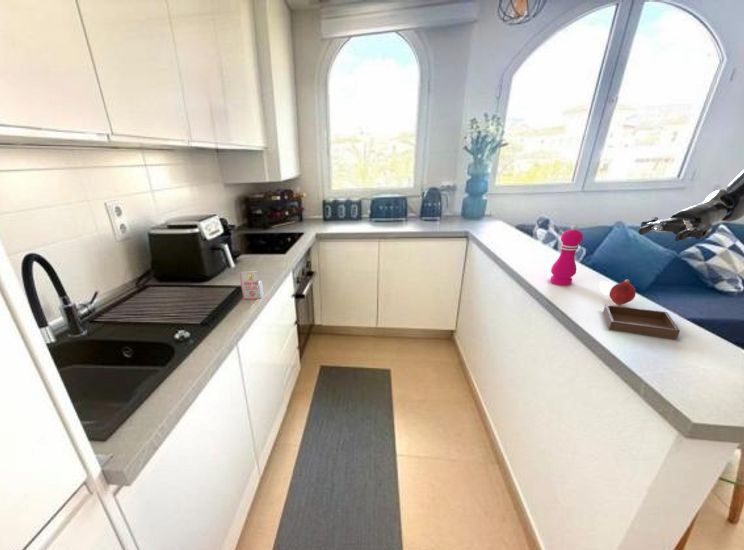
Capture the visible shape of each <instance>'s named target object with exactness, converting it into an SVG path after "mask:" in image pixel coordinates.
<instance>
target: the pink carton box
mask: <svg viewBox="0 0 744 550" xmlns="http://www.w3.org/2000/svg"><path fill="white" fill-rule="evenodd" d="M239 274H240V275H239V277H240V287H241V288H240V289H241V293H242V299H243V300H262V299H263V297H264V296H265V294H264V288H263V281H262V280H263V279H262V278H261V277H262V276H261V275H260V271H258V270H256V271H255V270H253V271H240V272H239Z"/></svg>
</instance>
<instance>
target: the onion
mask: <svg viewBox="0 0 744 550" xmlns="http://www.w3.org/2000/svg"><path fill="white" fill-rule="evenodd" d="M636 292H637V291H636V288H635V286H634V285H632V284H631V283H630V279H624V280H623V281H622V282H619V283H617V284H615V285H613V286H612V287H611V289H610V291H609V298H610V299H611V301H612V302H613V303H614V304H615V305H616V306H621V305H625V304H627V303H630V302H632V301H633V300H634V299H635V298H636Z"/></svg>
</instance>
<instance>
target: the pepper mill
mask: <svg viewBox="0 0 744 550" xmlns="http://www.w3.org/2000/svg"><path fill="white" fill-rule="evenodd" d="M583 239H584V234H583V232H582V231H580V230H579V228H578V225H577V224H573V225H571V226H570V229H567V230H565V231H563V233H562V234H561V236H560V241H561V244H560V253H559V257H558V258H557V259H556V260H555V262H554V263H553V264H552V266H551V268H550V273H551V274H552V275H551V276H550V279H549V282H550V283H551V284H554V285H557V286H570V285H571V284H572V282H573V277H574V276H575V275H576V274H577V264H576V260H575V256H576V252H577V251H578V250H579V247H580V245H579V244H580V243H582V242H583Z"/></svg>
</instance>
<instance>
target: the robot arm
mask: <svg viewBox="0 0 744 550" xmlns="http://www.w3.org/2000/svg"><path fill="white" fill-rule="evenodd" d="M743 217H744V169H742V170H741V172H740V173H739V174H738V175H736V177H735V178H734V179H732V180H731V182H729V184H728V185H727V186H726V189H725V188H721V189H717V190H715V191H713V192H711V193H710V194H709V195H707V196H706V198H704V199H703V201H702V202H701V203H698V204H695V205H692V206H689V207H687V208H684V209H682V210H679V211H677V212H676V213H675V212H674V214H673V215H671V216H670V217H669V218H665V219H659V217H658V216H654V217H653V216H652V217H650V218H648V219H645V220H642V221H641V222H640V227H639V228H638V229H639V230H638V235H640V236H643V235H647V234H648V233H650V232H655V233H659V234H660V233H673V234H674V235H675V239H674V241H676V242H680V241H683V240H685V239H692V238H694V239H695V240H702V239H703V238H705V237H707V236H709V235H710V234H711V232H712V230H713V227H714V224H716V223H718V222H720V221H721V222H723V223H732V222H735V221H738V220H741V219H742V218H743Z"/></svg>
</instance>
